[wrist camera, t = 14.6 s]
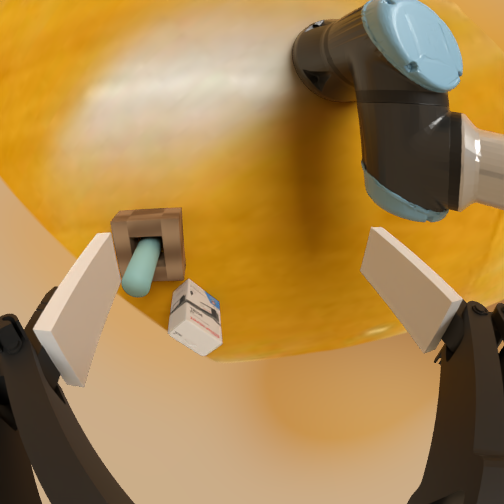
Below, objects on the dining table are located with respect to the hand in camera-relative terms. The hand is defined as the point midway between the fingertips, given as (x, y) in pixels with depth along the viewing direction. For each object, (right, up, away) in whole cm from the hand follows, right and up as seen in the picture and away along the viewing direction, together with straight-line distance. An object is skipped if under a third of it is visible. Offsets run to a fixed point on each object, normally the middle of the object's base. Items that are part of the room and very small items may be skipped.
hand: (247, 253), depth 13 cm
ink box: (-11, -9, +40) cm, 42 cm away
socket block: (-17, +2, +32) cm, 37 cm away
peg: (-17, +2, +32) cm, 37 cm away
